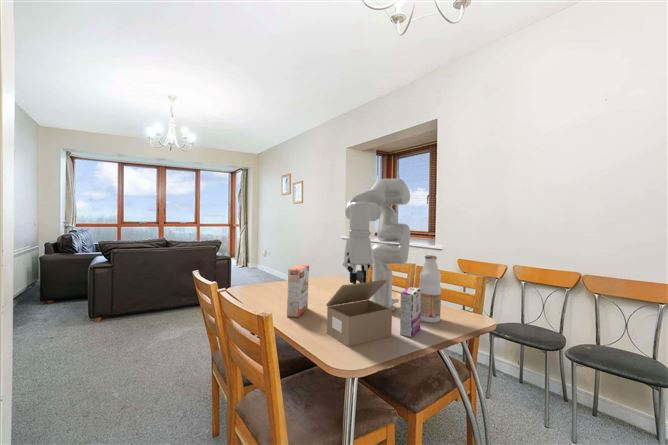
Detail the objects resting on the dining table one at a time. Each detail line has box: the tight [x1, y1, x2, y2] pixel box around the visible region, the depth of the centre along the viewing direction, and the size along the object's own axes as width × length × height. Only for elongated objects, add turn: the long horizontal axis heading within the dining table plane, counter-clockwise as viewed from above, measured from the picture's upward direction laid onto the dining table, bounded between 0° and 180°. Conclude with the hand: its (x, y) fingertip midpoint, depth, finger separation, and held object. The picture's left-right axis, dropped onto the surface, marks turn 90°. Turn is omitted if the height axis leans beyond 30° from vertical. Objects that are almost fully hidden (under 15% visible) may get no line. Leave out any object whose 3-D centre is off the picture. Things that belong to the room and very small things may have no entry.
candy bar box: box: [399, 286, 422, 338], centre depth 118 cm, size 11×5×16 cm, turn 148°
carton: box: [326, 299, 393, 348], centre depth 115 cm, size 20×14×10 cm
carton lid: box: [325, 269, 387, 307], centre depth 118 cm, size 20×14×7 cm
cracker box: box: [286, 264, 310, 318], centre depth 138 cm, size 14×6×21 cm, turn 168°
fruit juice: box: [418, 254, 442, 324], centre depth 133 cm, size 9×9×28 cm
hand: (357, 282), depth 115 cm, fingers closed on carton lid, 4 cm apart
